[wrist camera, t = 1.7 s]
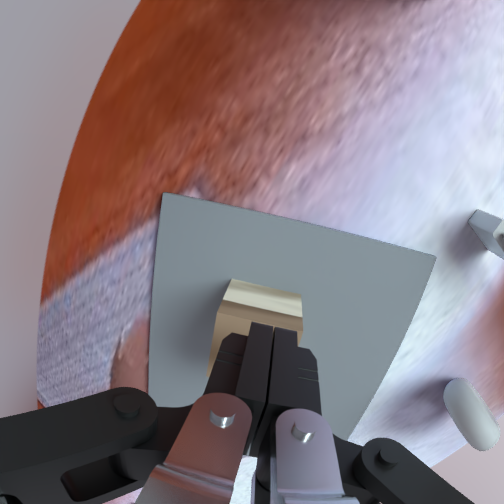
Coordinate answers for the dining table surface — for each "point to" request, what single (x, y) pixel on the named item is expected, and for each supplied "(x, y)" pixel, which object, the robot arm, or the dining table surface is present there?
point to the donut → (471, 414)
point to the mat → (287, 279)
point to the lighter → (489, 231)
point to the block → (254, 312)
